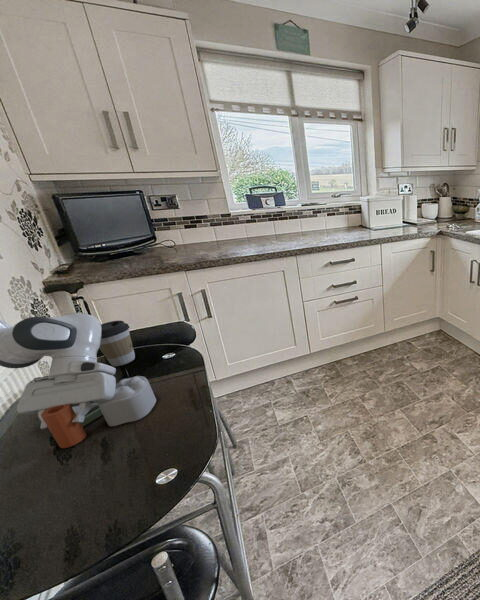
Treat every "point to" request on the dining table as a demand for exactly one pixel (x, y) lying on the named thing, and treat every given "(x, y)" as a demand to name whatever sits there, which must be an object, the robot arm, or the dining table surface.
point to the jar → (63, 425)
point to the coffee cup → (116, 343)
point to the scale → (89, 413)
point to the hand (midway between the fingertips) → (62, 425)
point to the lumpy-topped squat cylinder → (128, 401)
